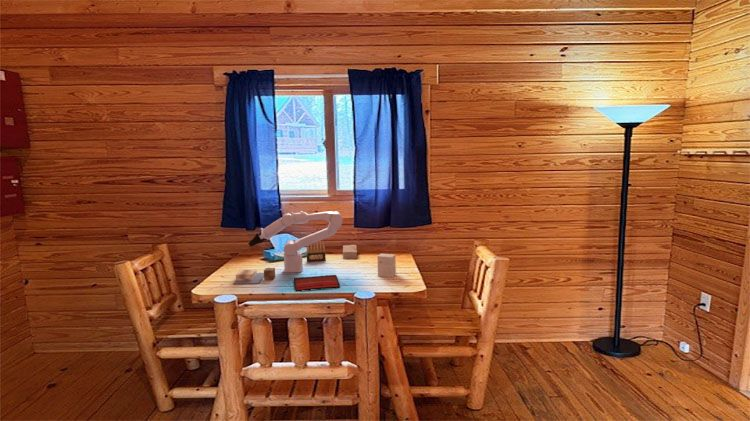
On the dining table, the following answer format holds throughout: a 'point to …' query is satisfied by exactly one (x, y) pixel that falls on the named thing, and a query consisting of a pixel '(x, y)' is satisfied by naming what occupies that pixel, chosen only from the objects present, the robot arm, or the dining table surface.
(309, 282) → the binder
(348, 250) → the brick
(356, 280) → the dining table surface
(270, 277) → the walnut block
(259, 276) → the board
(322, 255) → the ammunition clip
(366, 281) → the dining table surface
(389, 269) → the small box
